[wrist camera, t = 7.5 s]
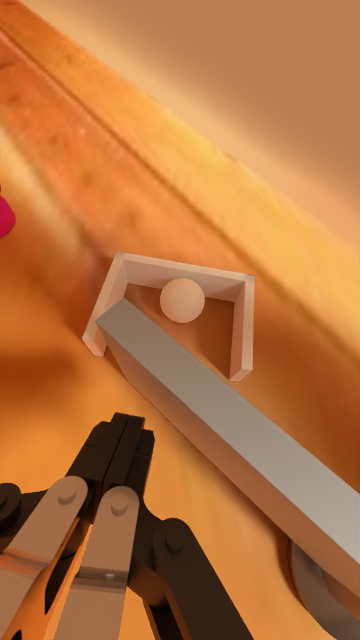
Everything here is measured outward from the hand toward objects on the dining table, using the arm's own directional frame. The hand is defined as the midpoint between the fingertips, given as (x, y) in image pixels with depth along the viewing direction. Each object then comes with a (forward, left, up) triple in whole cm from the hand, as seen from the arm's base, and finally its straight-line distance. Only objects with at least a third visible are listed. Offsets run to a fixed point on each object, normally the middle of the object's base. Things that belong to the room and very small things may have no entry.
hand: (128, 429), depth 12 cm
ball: (-1, -11, -7) cm, 12 cm away
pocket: (-1, -9, -7) cm, 11 cm away
